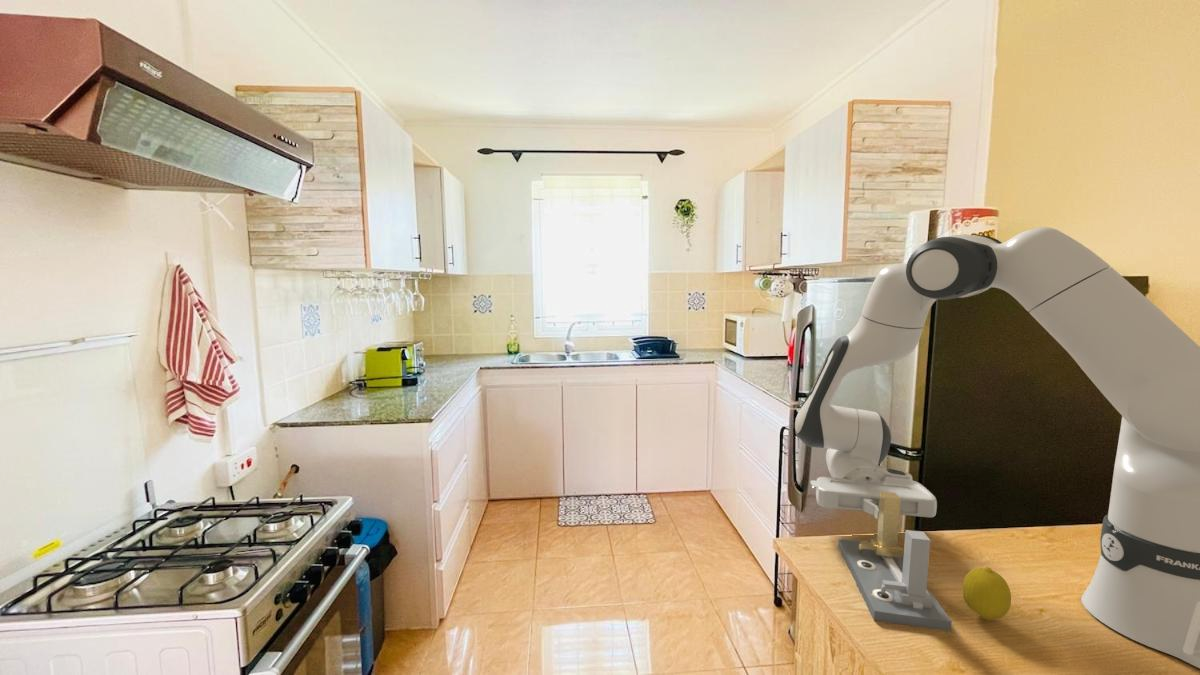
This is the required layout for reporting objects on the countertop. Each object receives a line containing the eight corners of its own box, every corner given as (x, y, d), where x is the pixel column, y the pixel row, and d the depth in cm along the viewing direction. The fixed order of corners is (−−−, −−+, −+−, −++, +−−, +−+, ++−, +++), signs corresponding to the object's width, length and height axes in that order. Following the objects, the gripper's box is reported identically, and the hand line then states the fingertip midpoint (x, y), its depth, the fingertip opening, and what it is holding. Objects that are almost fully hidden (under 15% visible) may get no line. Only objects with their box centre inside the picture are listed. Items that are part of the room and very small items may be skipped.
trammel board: (897, 552, 87) (901, 491, 85) (950, 631, 67) (957, 552, 66) (838, 546, 89) (841, 485, 87) (873, 620, 70) (879, 544, 68)
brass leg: (895, 551, 84) (899, 492, 82) (901, 560, 81) (906, 500, 79) (856, 546, 85) (859, 488, 84) (861, 556, 82) (864, 496, 81)
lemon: (1017, 634, 66) (1023, 582, 66) (973, 629, 68) (978, 577, 67) (993, 608, 72) (998, 559, 71) (952, 603, 73) (957, 555, 72)
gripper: (808, 465, 98) (823, 493, 85) (918, 473, 94) (952, 505, 80) (807, 493, 99) (822, 526, 86) (916, 503, 94) (949, 539, 81)
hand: (886, 516), depth 83 cm, fingers closed, pressing on brass leg
